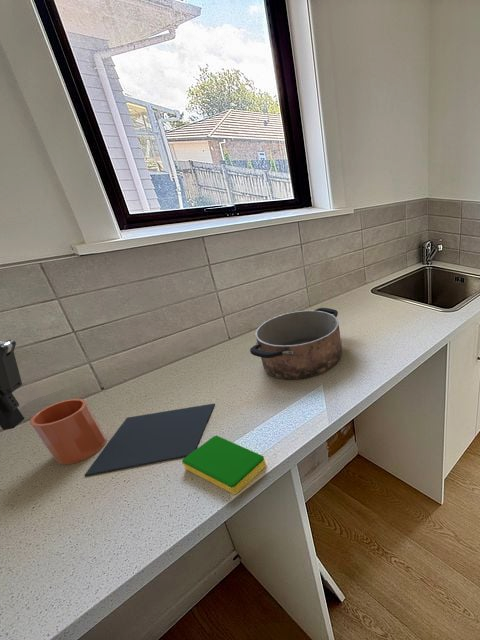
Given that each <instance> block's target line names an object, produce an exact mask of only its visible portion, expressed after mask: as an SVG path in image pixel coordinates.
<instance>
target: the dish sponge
mask: <svg viewBox="0 0 480 640" xmlns="http://www.w3.org/2000/svg"><path fill="white" fill-rule="evenodd" d="M181 462H182V463H183V467H184V469H185V470H187V471H188V472H190V473H192V474H194V475H196V476H198V477H200V478H202V479H204V480H205V481H207V482H209V483H211V484H213V485H215V486H217V487H219V488H221V489H222V490H225V491H226V492H229V493H230V494H232V495H237V494H238V493H239V492H240V491H241V490H242V489H244V487H246V486H247V485H248V484H249V482H251V481H252V480H253V479H254V478H255V477H256V476H257V475H258V474H259V473H260V472H261V471H262V470H263V469H265V468H266V466H267V464H266V459H265V456H264V455H261V454H259V453H257V452H256V451H255V452H254V451H252V450H250V449H248V448H246V447H243V446H241V445H239V444H237V443H234V442H233V441H230V440H228V439H225V438H223V437H221V436H219V435H214V436H212V437H211V438H209V439H208V440H207V441H206V442H204V443H203V444H201V445H200V446H198V447H197V449H196V450H195V451H193V452H192V453H191V454H189V455H188V456H186V457H183V458H182V460H181Z"/></svg>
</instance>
